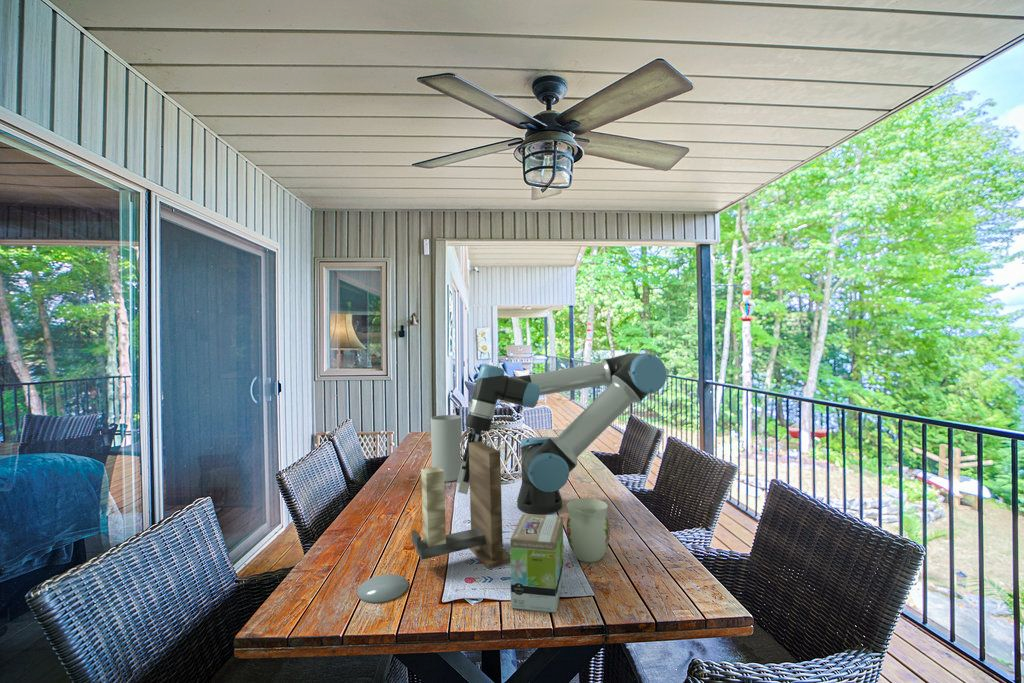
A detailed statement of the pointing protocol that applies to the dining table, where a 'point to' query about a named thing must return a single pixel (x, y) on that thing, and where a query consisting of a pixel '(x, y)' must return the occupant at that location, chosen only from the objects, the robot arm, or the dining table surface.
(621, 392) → the robot arm
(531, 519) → the tea box
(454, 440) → the cylinder vase
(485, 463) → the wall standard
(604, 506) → the pitcher
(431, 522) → the cedar rail
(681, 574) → the dining table surface
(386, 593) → the slate coaster
